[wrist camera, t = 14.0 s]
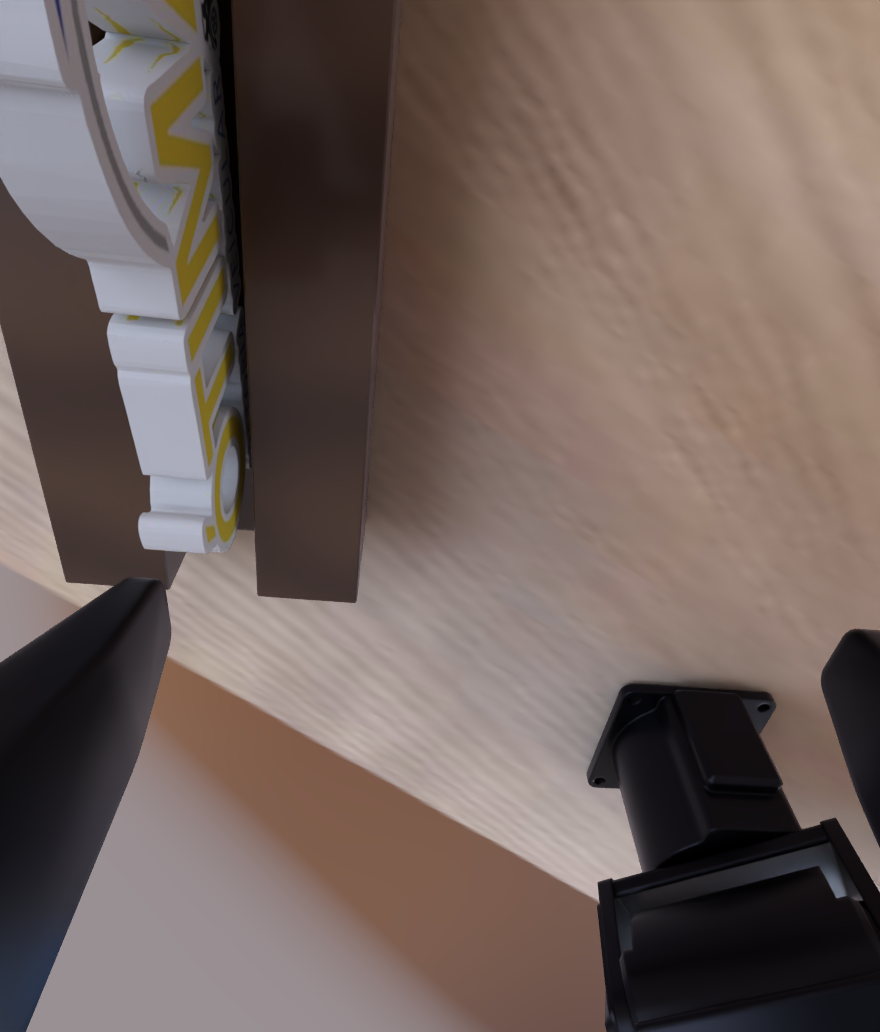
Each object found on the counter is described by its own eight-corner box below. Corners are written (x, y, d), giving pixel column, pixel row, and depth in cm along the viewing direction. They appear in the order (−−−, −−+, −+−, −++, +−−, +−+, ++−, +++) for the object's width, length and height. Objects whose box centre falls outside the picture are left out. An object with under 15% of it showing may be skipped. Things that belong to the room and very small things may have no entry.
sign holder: (365, 522, 23) (356, 603, 19) (117, 502, 22) (65, 583, 19) (448, -660, 10) (463, -993, 7) (-118, -796, 9) (-399, -1235, 6)
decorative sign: (274, 396, 22) (200, 658, 15) (233, 391, 22) (140, 654, 15) (211, -624, 10) (-379, -1769, 3) (113, -647, 10) (-768, -1905, 3)
